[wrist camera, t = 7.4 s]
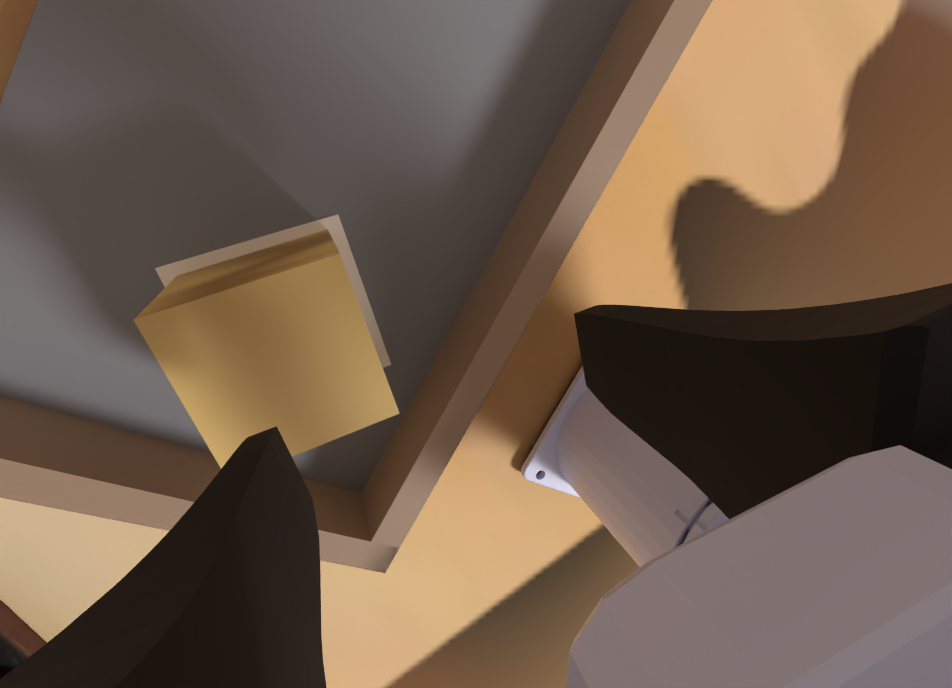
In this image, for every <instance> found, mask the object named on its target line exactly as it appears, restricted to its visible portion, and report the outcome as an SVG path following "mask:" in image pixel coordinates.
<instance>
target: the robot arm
mask: <svg viewBox="0 0 952 688" xmlns="http://www.w3.org/2000/svg"><path fill="white" fill-rule="evenodd" d="M574 317H575V323H576V328H577V334H578V340H579V346H580V352H581V358H582V364H583V365H582V367H581V368H580V370H579V372H578V373H577V375H576V377H575V378H574V380H573V382H572V383H571V385H570V387H569V389H568V390H567V392H566V394H565V395H564V397H563V399H562V400H561V402H560V404H559V405H558V407H557V409H556V410H555V412H554V414H553V415H552V417H551V419H550V420H549V422H548V424H547V425H546V427H545V429H544V430H543V432H542V434H541V435H540V437H539V439H538V440H537V442H536V444H535V445H534V447H533V449H532V450H531V452H530V454H529V455H528V457H527V459H526V460H525V462H524V464H523V465H522V468H521V473H522V475H523V477H524V478H525V479H527V480H529V481H532V482H534V483H537V484H540V485H543V486H546V487H549V488H552V489H555V490H558V491H561V492H564V493H567V494H570V495H573V496H576V497H579V498H582V500H583V501H584V502H585V503H586V504H587V505H588V507H589V508H590V509H591V510H592V511H593V512H594V514H595V515H596V516H597V517H598V518H599V520H600V521H601V522H602V523H603V524H604V525H605V527H606V528H607V529H608V530H609V531H610V532H611V534H612V535H613V536H614V537H615V538H616V539H617V541H618V542H619V543H620V544H621V545H622V547H623V548H624V549H625V550H626V551H627V552H628V554H629V555H630V556H631V557H632V558H633V559H634V561H635V562H636V563H637V564H638V565H639V566H640V568H639V569H638V570H636V571H635V572H634V573H632V574H631V575H630V576H629V577H627V578H626V579H625V580H623V581H622V582H621V583H619V584H618V585H617V586H615V587H614V588H613V589H612V590H610V591H609V592H607V593H606V594H605V595H604V596H603V597H602V598H601V600H600V601H599V603H598V604H597V606H596V607H595V609H594V610H593V612H592V613H591V615H590V616H589V618H588V619H587V621H586V622H585V624H584V626H583V627H582V629H581V630H580V632H579V633H578V635H577V636H576V638H575V639H574V641H573V644H572V647H571V650H570V654H569V663H568V674H567V682H566V688H952V283H951V284H947V285H942V286H937V287H933V288H928V289H923V290H919V291H915V292H910V293H904V294H899V295H893V296H888V297H881V298H875V299H869V300H863V301H857V302H849V303H842V304H834V305H826V306H816V307H805V308H797V309H782V310H760V311H759V310H758V311H707V310H684V309H669V308H655V307H642V306H628V305H597V306H594V307H591V308H588V309H586V310H583V311H580V312H578V313H575V314H574ZM541 470H542V471H541ZM539 471H541V473H540V474H538V475H536V474H537V473H538V472H539ZM0 688H326V681H325V673H324V665H323V656H322V640H321V591H320V544H319V533H318V527H317V520H316V515H315V509H314V504H313V499H312V497H311V495H310V493H309V491H308V489H307V487H306V484H305V482H304V480H303V478H302V476H301V474H300V472H299V470H298V468H297V466H296V464H295V462H294V460H293V458H292V456H291V454H290V452H289V450H288V448H287V446H286V444H285V442H284V440H283V438H282V436H281V434H280V432H279V430H278V428H277V426H276V427H273V428H270V429H268V430H265V431H262V432H260V433H257V434H255V435H252V436H249V437H247V438H246V439H245V440H244V441H243V442H242V443H241V445H240V446H239V447H238V448H237V449H236V451H235V452H234V453H233V454H232V456H231V457H230V458H229V459H228V461H227V462H226V463H225V465H224V466H223V467H222V469H221V470H220V471H219V472H218V474H217V475H216V476H215V477H214V479H213V480H212V481H211V482H210V484H209V485H208V486H207V488H206V489H205V490H204V491H203V493H202V494H201V495H200V496H199V497H198V499H197V500H196V501H195V502H194V503H193V504H192V506H191V507H190V508H189V509H188V510H187V511H186V513H185V514H184V515H183V516H182V517H181V518H180V520H179V521H178V522H177V523H176V524H175V525H174V526H173V528H172V529H171V530H170V531H169V532H168V533H167V534H166V536H165V537H164V538H163V539H162V540H161V541H160V542H159V543H158V544H157V545H156V546H155V547H154V548H153V549H152V550H151V551H150V552H149V553H148V554H147V555H146V556H145V557H144V558H143V559H142V560H141V561H140V562H139V563H138V564H137V565H136V566H135V567H134V568H133V569H132V570H131V571H130V572H129V573H128V574H127V575H126V576H125V577H124V578H123V579H122V580H120V581H119V582H118V583H117V584H116V585H115V586H114V587H113V588H112V589H110V590H109V591H108V592H107V593H106V594H105V595H104V596H102V597H101V598H100V599H99V600H98V601H97V602H95V603H94V604H93V605H92V606H91V607H90V608H88V609H87V610H86V611H85V612H84V613H83V614H81V615H80V616H79V617H78V618H77V619H76V620H74V621H73V622H72V623H71V624H70V625H69V626H67V627H66V628H65V629H64V630H63V631H62V632H60V633H59V634H58V635H57V636H55V637H54V638H53V639H52V640H50V641H49V642H48V643H47V644H45V645H44V646H43V647H41V648H40V649H39V650H38V651H36V652H35V653H34V654H32V655H31V656H30V657H29V658H27V659H26V660H25V661H23V662H22V663H21V664H20V665H18V666H17V667H15V668H14V669H13V670H11V671H10V672H9V673H7V674H6V675H5V676H3V677H2V678H1V679H0Z"/></svg>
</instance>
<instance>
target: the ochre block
mask: <svg viewBox="0 0 952 688" xmlns="http://www.w3.org/2000/svg"><path fill="white" fill-rule="evenodd" d="M134 322H135V324H136V325H137V327H138V329H139V331H140V332H141V334H142V336H143V337H144V339H145V341H146V342H147V344H148V346H149V347H150V349H151V351H152V353H153V354H154V356H155V358H156V359H157V361H158V363H159V364H160V366H161V368H162V369H163V371H164V373H165V375H166V376H167V378H168V380H169V381H170V383H171V385H172V386H173V388H174V390H175V392H176V393H177V395H178V397H179V398H180V400H181V402H182V403H183V405H184V407H185V408H186V410H187V412H188V414H189V415H190V417H191V419H192V420H193V422H194V424H195V425H196V427H197V429H198V430H199V432H200V434H201V436H202V437H203V439H204V441H205V442H206V444H207V446H208V447H209V449H210V451H211V452H212V454H213V456H214V458H215V459H216V461H217V463H218V464H219V466H220V468H221V469H222V467H223V466H224V465H225V463H226V462H227V461H228V459H229V458H230V457H231V456H232V454H233V453H234V452H235V451H236V449H237V448H238V447H239V446H240V445H241V443H242V442H243V441H244V440H245V439H246V438H247V437H249V436H252V435H255V434H257V433H260V432H262V431H265V430H268V429H270V428H273V427H276V426H277V428H278V430H279V432H280V434H281V436H282V438H283V440H284V442H285V444H286V446H287V448H288V450H289V452H290V454H291V456H295V455H297V454H300V453H302V452H305V451H307V450H310V449H312V448H315V447H317V446H320V445H322V444H325V443H327V442H330V441H332V440H335V439H337V438H340V437H342V436H345V435H347V434H350V433H352V432H355V431H357V430H360V429H362V428H365V427H367V426H370V425H372V424H375V423H377V422H380V421H382V420H385V419H387V418H390V417H392V416H395V415H397V414H400V413H399V410H398V408H397V405H396V402H395V400H394V397H393V394H392V392H391V389H390V386H389V384H388V381H387V378H386V375H385V373H384V370H383V367H382V365H381V362H380V359H379V357H378V354H377V351H376V349H375V346H374V343H373V341H372V338H371V335H370V333H369V330H368V327H367V325H366V322H365V319H364V317H363V314H362V311H361V309H360V306H359V303H358V301H357V298H356V295H355V293H354V290H353V287H352V284H351V282H350V279H349V276H348V274H347V271H346V268H345V266H344V263H343V260H342V258H341V255H340V253H339V251H338V249H337V247H336V245H335V243H334V241H333V239H332V237H331V235H330V233H329V231H328V229H326V230H323V231H320V232H317V233H313V234H310V235H307V236H304V237H300V238H297V239H294V240H291V241H288V242H284V243H281V244H278V245H275V246H271V247H268V248H265V249H262V250H259V251H255V252H252V253H249V254H246V255H242V256H239V257H236V258H233V259H229V260H226V261H223V262H220V263H217V264H213V265H210V266H207V267H204V268H200V269H197V270H194V271H191V272H187V273H184V274H181V275H178V276H176V277H175V278H174V279H173V280H172V281H171V282H170V283H169V284H168V285H167V286H166V287H165V288H164V289H163V290H162V291H161V293H160V294H159V295H158V296H157V297H156V298H155V299H154V300H153V301H152V302H151V303H150V304H149V305H148V306H147V307H146V308H145V309H144V310H143V311H142V312H141V313H140V314H139V315H138V316H137V317H136V318H135V319H134Z"/></svg>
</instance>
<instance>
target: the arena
mask: <svg viewBox="0 0 952 688" xmlns="http://www.w3.org/2000/svg"><path fill="white" fill-rule="evenodd" d="M711 2H712V0H38V2H37V5H36V7H35V10H34V13H33V15H32V18H31V21H30V24H29V26H28V29H27V32H26V34H25V37H24V40H23V43H22V45H21V48H20V51H19V53H18V56H17V59H16V61H15V64H14V67H13V70H12V72H11V75H10V78H9V80H8V83H7V86H6V89H5V91H4V94H3V97H2V99H1V102H0V498H6V499H11V500H16V501H21V502H26V503H31V504H36V505H41V506H46V507H51V508H57V509H62V510H67V511H72V512H77V513H82V514H87V515H92V516H97V517H102V518H107V519H113V520H118V521H123V522H128V523H133V524H138V525H143V526H148V527H153V528H158V529H163V530H169V531H170V530H171V529H172V528H173V526H174V525H175V524H176V523H177V522H178V521H179V520H180V518H181V517H182V516H183V515H184V514H185V513H186V511H187V510H188V509H189V508H190V507H191V506H192V504H193V503H194V502H195V501H196V500H197V499H198V497H199V496H200V495H201V494H202V493H203V491H204V490H205V489H206V488H207V486H208V485H209V484H210V482H211V481H212V480H213V479H214V477H215V476H216V475H217V474H218V472H219V471H220V470H221V468H220V466H219V464H218V463H217V461H216V459H215V458H214V456H213V454H212V452H211V451H210V449H209V447H208V446H207V444H206V442H205V441H204V439H203V437H202V436H201V434H200V432H199V430H198V429H197V427H196V425H195V424H194V422H193V420H192V419H191V417H190V415H189V414H188V412H187V410H186V408H185V407H184V405H183V403H182V402H181V400H180V398H179V397H178V395H177V393H176V392H175V390H174V388H173V386H172V385H171V383H170V381H169V380H168V378H167V376H166V375H165V373H164V371H163V369H162V368H161V366H160V364H159V363H158V361H157V359H156V358H155V356H154V354H153V353H152V351H151V349H150V347H149V346H148V344H147V342H146V341H145V339H144V337H143V336H142V334H141V332H140V331H139V329H138V327H137V325H136V324H135V322H134V319H135V318H136V317H137V316H138V315H139V314H140V313H141V312H142V311H143V310H144V309H145V308H146V307H147V306H148V305H149V304H150V303H151V302H152V301H153V300H154V299H155V298H156V297H157V296H158V295H159V294H160V293H161V291H162V290H163V289H164V288H165V287H166V286H167V285H168V284H169V283H170V282H171V281H172V280H173V279H174V278H175V277H176V276H178V275H181V274H184V273H187V272H191V271H194V270H197V269H200V268H204V267H207V266H210V265H213V264H217V263H220V262H223V261H226V260H229V259H233V258H236V257H239V256H242V255H246V254H249V253H252V252H255V251H259V250H262V249H265V248H268V247H271V246H275V245H278V244H281V243H284V242H288V241H291V240H294V239H297V238H300V237H304V236H307V235H310V234H313V233H317V232H320V231H323V230H326V229H328V231H329V233H330V235H331V237H332V239H333V241H334V243H335V245H336V247H337V249H338V251H339V253H340V255H341V258H342V260H343V263H344V266H345V268H346V271H347V274H348V276H349V279H350V282H351V284H352V287H353V290H354V293H355V295H356V298H357V301H358V303H359V306H360V309H361V311H362V314H363V317H364V319H365V322H366V325H367V327H368V330H369V333H370V335H371V338H372V341H373V343H374V346H375V349H376V351H377V354H378V357H379V359H380V362H381V365H382V367H383V370H384V373H385V375H386V378H387V381H388V384H389V386H390V389H391V392H392V394H393V397H394V400H395V402H396V405H397V408H398V410H399V413H400V414H397V415H395V416H392V417H390V418H387V419H385V420H382V421H380V422H377V423H375V424H372V425H370V426H367V427H365V428H362V429H360V430H357V431H355V432H352V433H350V434H347V435H345V436H342V437H340V438H337V439H335V440H332V441H330V442H327V443H325V444H322V445H320V446H317V447H315V448H312V449H310V450H307V451H305V452H302V453H300V454H297V455H295V456H292V458H293V460H294V462H295V464H296V466H297V468H298V470H299V472H300V474H301V476H302V478H303V480H304V482H305V484H306V487H307V489H308V491H309V493H310V495H311V497H312V499H313V504H314V509H315V515H316V520H317V527H318V533H319V544H320V560H321V561H326V562H332V563H337V564H342V565H347V566H352V567H357V568H362V569H367V570H372V571H377V572H382V573H385V572H386V570H387V569H388V567H389V565H390V563H391V562H392V560H393V558H394V556H395V555H396V553H397V551H398V549H399V548H400V546H401V544H402V542H403V541H404V539H405V537H406V536H407V534H408V532H409V530H410V529H411V527H412V525H413V523H414V522H415V520H416V518H417V516H418V515H419V513H420V511H421V509H422V508H423V506H424V504H425V502H426V501H427V499H428V497H429V495H430V494H431V492H432V490H433V488H434V487H435V485H436V483H437V481H438V480H439V478H440V476H441V474H442V473H443V471H444V469H445V467H446V466H447V464H448V462H449V460H450V459H451V457H452V455H453V453H454V452H455V450H456V448H457V446H458V445H459V443H460V441H461V439H462V438H463V436H464V434H465V432H466V431H467V429H468V427H469V425H470V424H471V422H472V420H473V418H474V417H475V415H476V413H477V411H478V410H479V408H480V406H481V404H482V403H483V401H484V399H485V397H486V396H487V394H488V392H489V390H490V389H491V387H492V385H493V383H494V382H495V380H496V378H497V376H498V375H499V373H500V371H501V369H502V368H503V366H504V364H505V362H506V361H507V359H508V357H509V355H510V354H511V352H512V350H513V348H514V347H515V345H516V343H517V341H518V340H519V338H520V336H521V334H522V333H523V331H524V329H525V327H526V326H527V324H528V322H529V320H530V319H531V317H532V315H533V313H534V312H535V310H536V308H537V306H538V305H539V303H540V301H541V299H542V298H543V296H544V294H545V292H546V291H547V289H548V287H549V285H550V284H551V282H552V280H553V278H554V277H555V275H556V273H557V271H558V270H559V268H560V266H561V264H562V263H563V261H564V259H565V257H566V256H567V254H568V252H569V250H570V249H571V247H572V245H573V243H574V242H575V240H576V238H577V236H578V235H579V233H580V231H581V229H582V228H583V226H584V224H585V222H586V221H587V219H588V217H589V215H590V214H591V212H592V210H593V208H594V207H595V205H596V203H597V201H598V200H599V198H600V196H601V194H602V193H603V191H604V189H605V187H606V186H607V184H608V182H609V180H610V179H611V177H612V175H613V173H614V172H615V170H616V168H617V166H618V165H619V163H620V161H621V159H622V158H623V156H624V154H625V152H626V151H627V149H628V147H629V145H630V144H631V142H632V140H633V138H634V137H635V135H636V133H637V131H638V130H639V128H640V126H641V124H642V123H643V121H644V119H645V117H646V116H647V114H648V112H649V110H650V109H651V107H652V105H653V103H654V102H655V100H656V98H657V96H658V95H659V93H660V91H661V89H662V88H663V86H664V84H665V82H666V81H667V79H668V77H669V75H670V74H671V72H672V70H673V68H674V67H675V65H676V63H677V61H678V60H679V58H680V56H681V54H682V53H683V51H684V49H685V47H686V46H687V44H688V42H689V40H690V39H691V37H692V35H693V33H694V32H695V30H696V28H697V26H698V25H699V23H700V21H701V19H702V18H703V16H704V14H705V12H706V11H707V9H708V7H709V5H710V4H711Z"/></svg>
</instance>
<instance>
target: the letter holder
mask: <svg viewBox="0 0 952 688" xmlns="http://www.w3.org/2000/svg"><path fill="white" fill-rule="evenodd" d="M45 644H47V643H46V642H45V641H44V640H43V639H42V638H40V637H39V636H38V635H37V634H36V633H35V632H34V631H33V630H32V629H31V628H30V627H29V626H27V625H26V624H25V623H24V622H23V621H22V620H21V619H20V618H18V617H17V616H16V615H15V614H14V613H13V612H12V611H11V610H10V609H9V608H8V607H7V606H6V605H5V604H4V603H2V602H1V601H0V679H1V678H2V677H3V676H5V675H6V674H7V673H9V672H10V671H11V670H13V669H14V668H15V667H17V666H18V665H20V664H21V663H22V662H23V661H25V660H26V659H27V658H29V657H30V656H31V655H32V654H34V653H35V652H36V651H38V650H39V649H40V648H41V647H43V646H44V645H45Z"/></svg>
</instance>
